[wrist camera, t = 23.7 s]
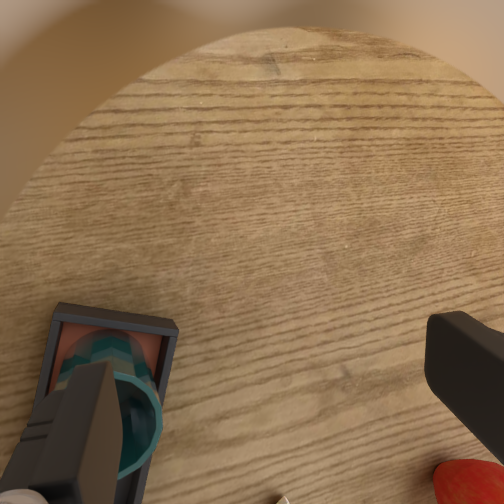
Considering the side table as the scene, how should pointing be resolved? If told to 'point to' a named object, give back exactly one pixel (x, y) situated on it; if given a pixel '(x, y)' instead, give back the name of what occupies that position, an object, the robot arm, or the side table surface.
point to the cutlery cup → (123, 390)
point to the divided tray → (139, 326)
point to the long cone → (283, 501)
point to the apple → (469, 482)
